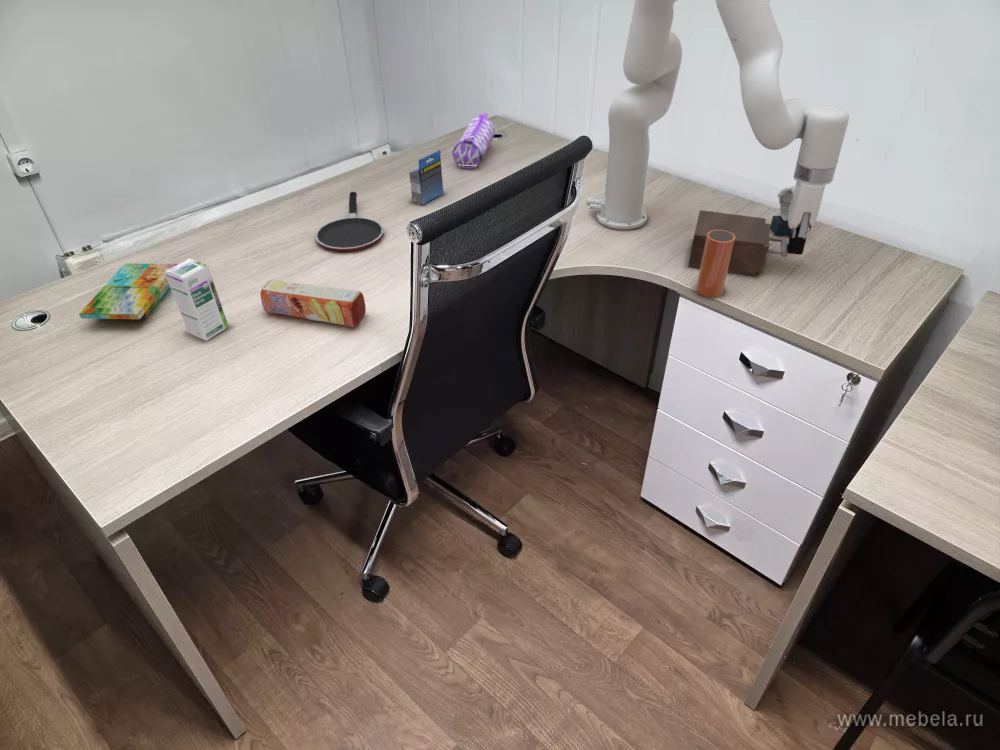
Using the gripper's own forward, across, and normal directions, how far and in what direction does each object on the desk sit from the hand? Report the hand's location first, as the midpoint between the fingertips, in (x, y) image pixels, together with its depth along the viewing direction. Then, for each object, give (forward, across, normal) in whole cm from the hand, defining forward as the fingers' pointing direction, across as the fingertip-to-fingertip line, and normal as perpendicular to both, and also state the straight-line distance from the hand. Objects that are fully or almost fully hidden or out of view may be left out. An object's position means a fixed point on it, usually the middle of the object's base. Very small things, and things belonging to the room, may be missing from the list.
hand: (794, 252), depth 149 cm
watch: (+4, -18, -1) cm, 19 cm away
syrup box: (+1, +59, -111) cm, 126 cm away
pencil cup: (+4, +15, -16) cm, 22 cm away
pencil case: (0, -42, -90) cm, 99 cm away
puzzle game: (0, +55, -132) cm, 143 cm away
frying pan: (0, +10, -105) cm, 105 cm away
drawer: (+3, 0, -11) cm, 11 cm away
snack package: (+1, +48, -93) cm, 105 cm away
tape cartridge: (+1, -11, -92) cm, 93 cm away
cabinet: (+4, 0, -14) cm, 15 cm away
